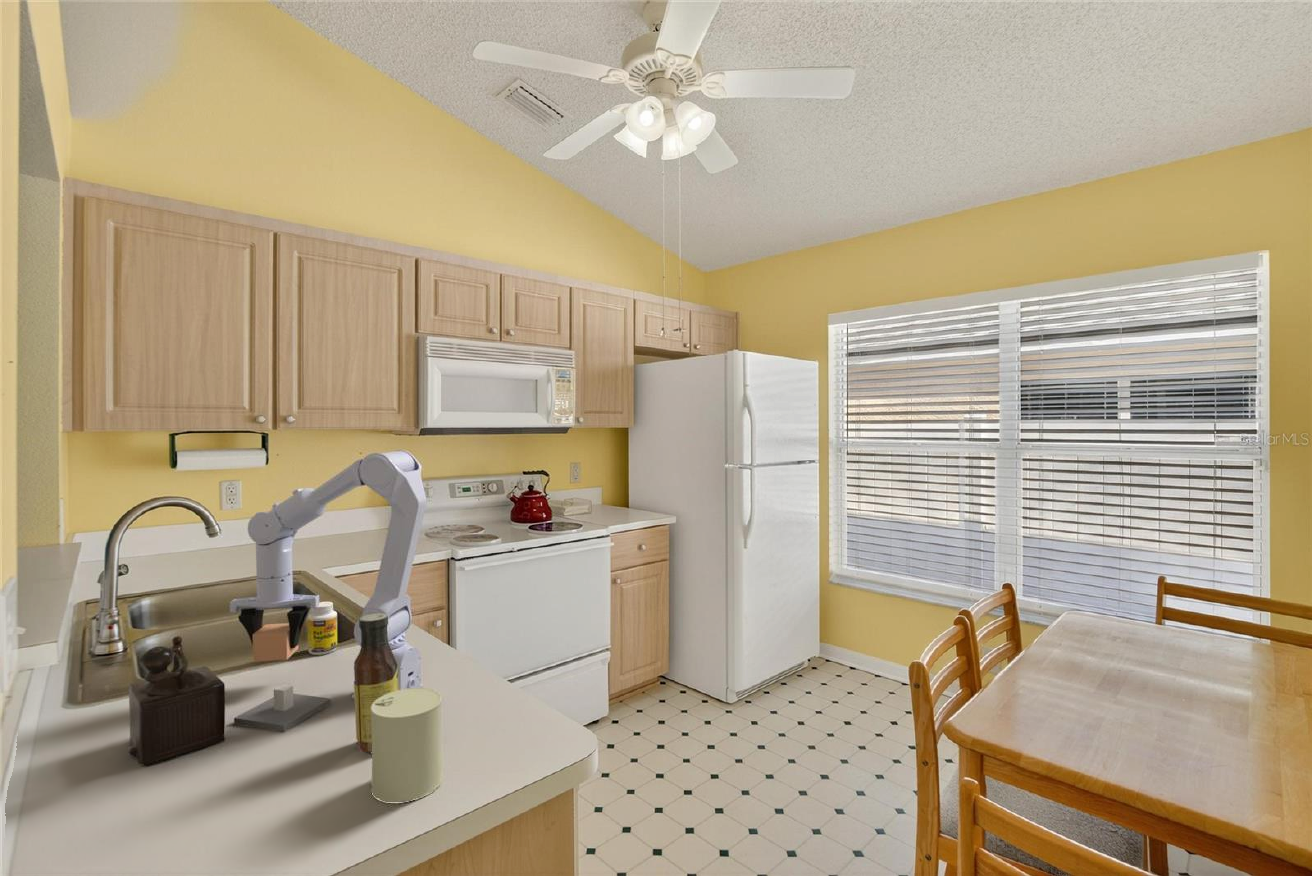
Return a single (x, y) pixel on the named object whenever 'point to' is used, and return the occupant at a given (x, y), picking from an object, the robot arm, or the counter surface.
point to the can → (406, 744)
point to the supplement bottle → (322, 629)
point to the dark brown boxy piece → (174, 707)
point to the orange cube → (272, 643)
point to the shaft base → (282, 710)
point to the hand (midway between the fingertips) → (276, 647)
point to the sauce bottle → (372, 674)
